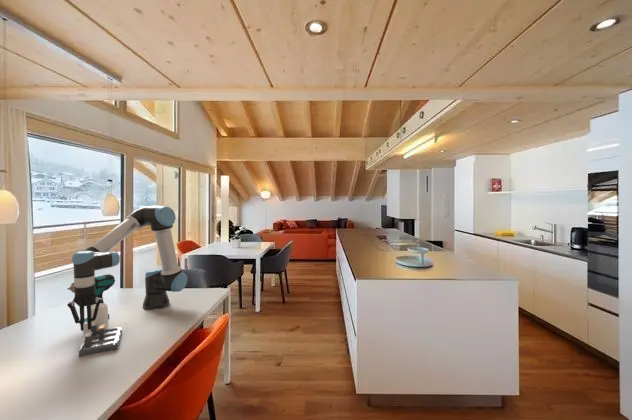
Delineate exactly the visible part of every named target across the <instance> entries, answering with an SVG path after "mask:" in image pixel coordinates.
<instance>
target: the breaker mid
mask: <svg viewBox="0 0 632 420" xmlns="http://www.w3.org/2000/svg"><path fill="white" fill-rule="evenodd" d="M104 338H105V325H100V326H99V339H104Z"/></svg>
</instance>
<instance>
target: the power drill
mask: <svg viewBox="0 0 632 420" xmlns="http://www.w3.org/2000/svg"><path fill="white" fill-rule="evenodd" d="M115 282H116V279H115V277H114V275H113V274H111V273H110V274H109V273H108V274H103V275H99V276H95V284H94V285H95V294H96V296H97V297H98V298H102V301H101V303H105V302H104V297H103V296H104V295H103V293H104V292H105V291H108V290H109V289H110V288H111V287H113V286H114V285H115ZM74 288H75V286H74V282H73V283H71V284H70V286H69V287H68V288H67V290H69V291H71V292H72V293H73V294H75V292H74ZM94 304H97V303H96V300H94V302H93V303H92V304H91V305H94ZM108 320H110V313H108ZM84 322H87V317H85V321H84Z"/></svg>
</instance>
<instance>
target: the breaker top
mask: <svg viewBox="0 0 632 420" xmlns="http://www.w3.org/2000/svg"><path fill="white" fill-rule="evenodd" d="M84 340H85V347H90V346H92V343H93V342H92V332H87V333H86V335H85V338H84Z"/></svg>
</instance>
